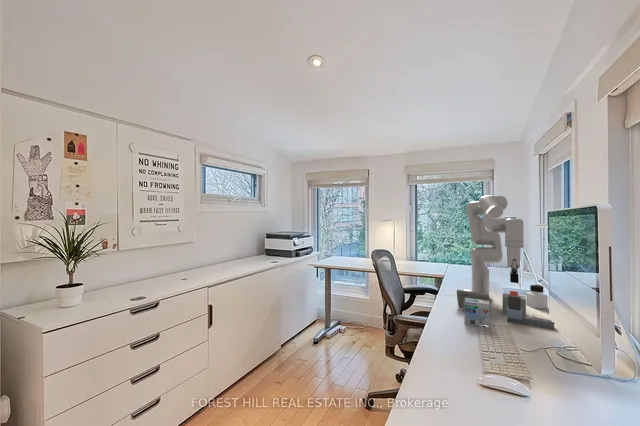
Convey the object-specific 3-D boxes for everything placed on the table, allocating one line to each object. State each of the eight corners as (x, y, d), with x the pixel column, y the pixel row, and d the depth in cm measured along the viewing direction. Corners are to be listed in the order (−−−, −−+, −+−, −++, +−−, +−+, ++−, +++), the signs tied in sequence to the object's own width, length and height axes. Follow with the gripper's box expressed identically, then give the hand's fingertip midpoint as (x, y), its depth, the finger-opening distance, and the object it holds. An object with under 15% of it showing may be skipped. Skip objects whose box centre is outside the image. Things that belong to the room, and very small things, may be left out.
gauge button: (509, 300, 154) (509, 291, 154) (509, 298, 157) (509, 290, 157) (518, 301, 152) (518, 292, 152) (518, 299, 155) (517, 291, 155)
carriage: (506, 317, 141) (506, 297, 141) (507, 313, 147) (507, 293, 147) (522, 320, 138) (522, 299, 138) (521, 316, 144) (521, 295, 144)
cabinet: (502, 314, 154) (502, 296, 154) (502, 309, 160) (502, 293, 160) (526, 317, 148) (525, 299, 148) (525, 313, 155) (525, 296, 155)
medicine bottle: (547, 308, 163) (547, 286, 163) (534, 308, 163) (534, 286, 164) (538, 304, 170) (538, 283, 171) (526, 304, 171) (526, 283, 171)
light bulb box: (464, 323, 140) (464, 300, 140) (464, 319, 146) (464, 297, 146) (490, 327, 135) (490, 304, 135) (489, 323, 141) (489, 300, 141)
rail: (506, 321, 143) (506, 315, 143) (507, 319, 146) (506, 313, 146) (554, 329, 133) (554, 323, 133) (553, 326, 136) (553, 320, 136)
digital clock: (492, 313, 155) (492, 293, 155) (484, 317, 149) (484, 296, 149) (461, 305, 168) (461, 287, 168) (453, 309, 162) (453, 289, 162)
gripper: (505, 242, 152) (505, 277, 152) (504, 245, 138) (504, 283, 137) (522, 243, 148) (522, 278, 148) (524, 246, 133) (524, 285, 133)
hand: (514, 280), depth 143 cm, fingers open, 6 cm apart
